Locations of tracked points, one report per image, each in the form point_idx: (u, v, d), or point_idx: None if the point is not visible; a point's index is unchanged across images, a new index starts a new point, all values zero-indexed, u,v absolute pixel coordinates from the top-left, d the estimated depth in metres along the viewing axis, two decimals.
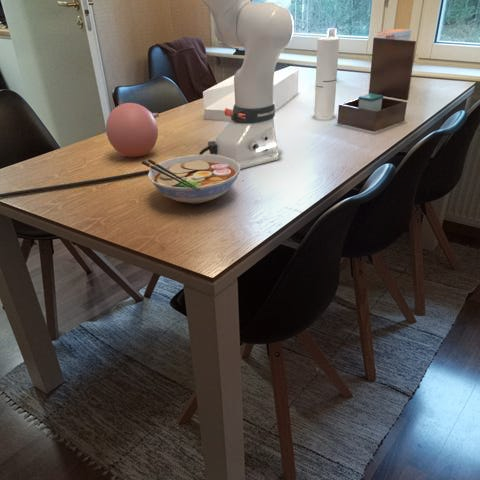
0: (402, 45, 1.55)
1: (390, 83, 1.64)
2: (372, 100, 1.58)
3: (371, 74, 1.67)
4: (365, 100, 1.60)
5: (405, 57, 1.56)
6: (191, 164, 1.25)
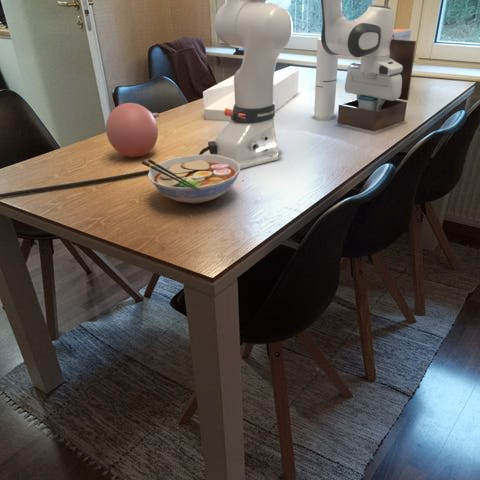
0: (402, 45, 1.55)
1: None
2: (372, 100, 1.58)
3: None
4: (365, 100, 1.60)
5: (405, 57, 1.56)
6: (191, 164, 1.25)
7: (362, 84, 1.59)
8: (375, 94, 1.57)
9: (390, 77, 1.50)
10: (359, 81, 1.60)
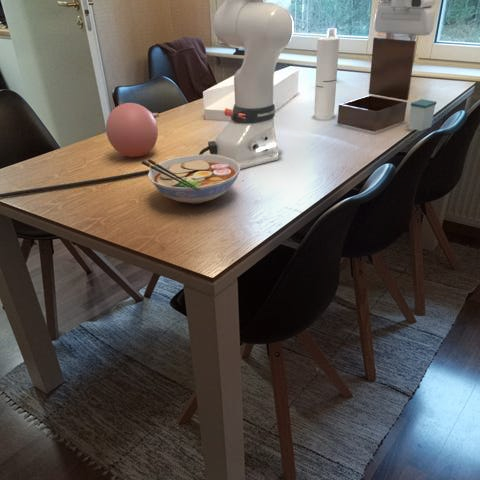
0: (402, 45, 1.55)
1: (390, 83, 1.64)
2: (426, 107, 1.52)
3: (371, 74, 1.67)
4: (418, 107, 1.53)
5: (405, 57, 1.56)
6: (191, 164, 1.25)
7: (392, 21, 1.56)
8: (406, 30, 1.54)
9: (423, 9, 1.47)
10: (389, 18, 1.56)
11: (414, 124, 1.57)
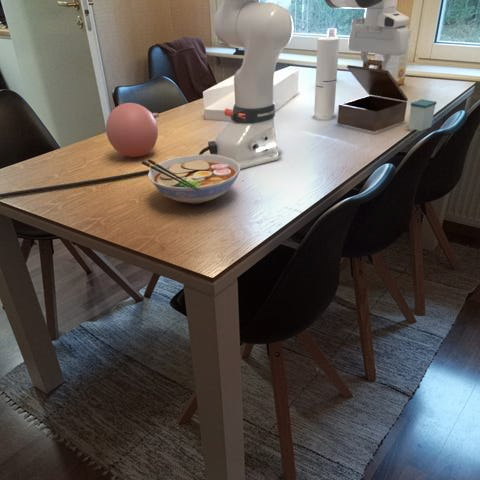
0: (377, 73, 1.53)
1: (383, 91, 1.63)
2: (426, 107, 1.52)
3: (362, 85, 1.67)
4: (418, 107, 1.53)
5: (385, 80, 1.54)
6: (191, 164, 1.25)
7: (366, 40, 1.52)
8: (380, 49, 1.50)
9: (396, 29, 1.43)
10: (363, 37, 1.52)
11: (414, 124, 1.57)
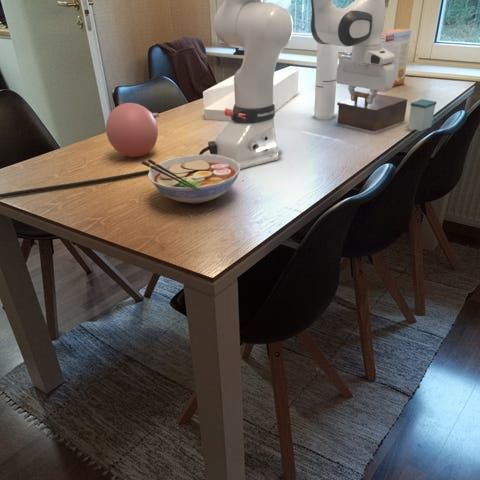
0: None
1: None
2: (426, 107, 1.52)
3: None
4: (418, 106, 1.53)
5: None
6: (191, 164, 1.25)
7: (354, 74, 1.55)
8: (367, 85, 1.53)
9: (382, 67, 1.46)
10: (351, 71, 1.55)
11: (414, 124, 1.57)
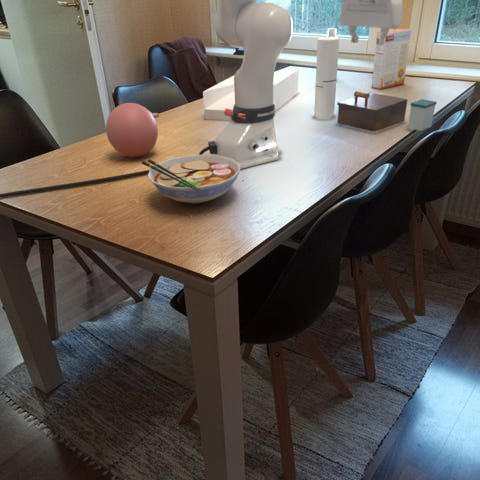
0: None
1: None
2: (426, 107, 1.52)
3: None
4: (418, 107, 1.53)
5: None
6: (191, 164, 1.25)
7: (359, 13, 1.45)
8: (373, 23, 1.43)
9: (390, 0, 1.36)
10: (355, 10, 1.45)
11: (414, 124, 1.57)
